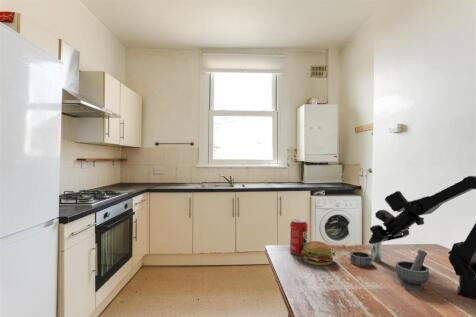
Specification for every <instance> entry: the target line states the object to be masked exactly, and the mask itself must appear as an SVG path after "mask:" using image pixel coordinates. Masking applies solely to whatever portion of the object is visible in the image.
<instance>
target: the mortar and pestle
mask: <svg viewBox="0 0 476 317" xmlns="http://www.w3.org/2000/svg"><path fill="white" fill-rule="evenodd" d="M427 255H428V252H426V251H424V250H422V249H418V250H417V255H416V256H415V259H414V261H405V260H401V261H396V263H395V273H396V275H397V277H398V278H399V279H400V280H401V283H400V285H401V287H403V288H405V289H407V290H410V291H415V292H418V291H419V292H420V291H423V285H424V284H426V283H427V281H428V280H429V272H430V271H429V270H430V269H429V267H427V266H425V265H424V263H425V262H424V261H425V259H426V257H427Z"/></svg>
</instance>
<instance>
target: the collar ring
mask: <svg viewBox="0 0 476 317" xmlns="http://www.w3.org/2000/svg"><path fill="white" fill-rule="evenodd" d="M349 262H350V264H352V265H354V266H357V267H361V268H362V267H363V268H369V267H372V264H373V261H372V256H371V253H370V254H369V253H367V252H365V251H357V250H356V251H350V253H349Z"/></svg>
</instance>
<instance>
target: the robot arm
mask: <svg viewBox="0 0 476 317" xmlns="http://www.w3.org/2000/svg"><path fill="white" fill-rule="evenodd" d="M473 190H475V191H476V175H467V176H465V177H463V178H462V179H461V180H458V181H457V182H454V183H453V184H450V185H449V186H447V187H445V188H443V189H441V190H439V191H437V192H435V193H433V194H431V195H427V196H424V197H420V198H416V199H413V200H410V201H408V200H407V198H405V196H404V195H403V193H402V192H401V191H400V190H397V191H394V193H391V194H389V195H387V196H386V197H385V198H384V201H385V202H386V204H387V205H388V206H389V207H390V208H391V210H392V212H395V213H396V212H397V213H399V214H397V215H396V216H394V215H393V213H390V211H388V210H386V209H379V210H377V212H375V213H374V214H375V218H377V219H378V220H379V221H381V222H382V225H383V226H384V227H385V229H384V228H383V226H382V225H380V224H376V225H372V226H370V228H369V230H370V232H372V233H373V234H372V236H370V239H369V240H368V243H369V244H370V245H371V244H373V243H378V242H382V243H383V242H386V241H387V242H388V241H392V240H397V239H402V238H406V237H408V236H409V235H410V227H412V226H414V224H416V225H417V226H422V225H424V224H425V221H424V218H425V217H421V216H425V215H431V214H432V213H433V212H435V211H436V210H438V209H439V208H440V207H441V206H442V205H443V204H446V203H448V202H449V201H451V200H454V199H455V198H457V197H460V196H463V195H465V194H467V193H468V192H471V191H473ZM447 254H448V261H449V263H450V264H451V266H452V268H453V270H454V273H455V275H456V276H458V277H459V278H458V279H459V280H458V281H459V282H458V283H459V284H458V286H457V290H456V291H457V295H460V296H464V297H467V298H471V299H475V300H476V222H475V223H474V224H473V227H472V229H471V230H470V231H469V233H468V235H467V237H466V239H465V240H464V241H459V242H455V243H453V245H452V247H451V250H450V251H448V252H447Z"/></svg>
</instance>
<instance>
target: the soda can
mask: <svg viewBox="0 0 476 317" xmlns="http://www.w3.org/2000/svg"><path fill="white" fill-rule="evenodd" d="M308 227H309V225H308V223H307V220H306V219H302V218H293V219H291V222H290V223H289V252H290V253H291V254H293V255H295V256H302V254H301V251H302V250H303V246H305V244H306V243H308V236H309V235H308V232H309V230H308V229H309V228H308Z"/></svg>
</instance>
